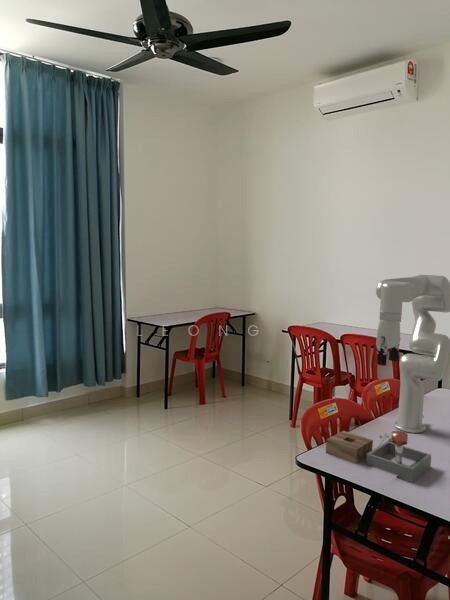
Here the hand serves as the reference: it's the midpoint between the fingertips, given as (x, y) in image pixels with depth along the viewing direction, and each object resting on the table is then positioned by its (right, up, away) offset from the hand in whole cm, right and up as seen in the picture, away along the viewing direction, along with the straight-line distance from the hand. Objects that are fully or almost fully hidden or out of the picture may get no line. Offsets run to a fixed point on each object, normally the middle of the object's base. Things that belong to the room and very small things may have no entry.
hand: (387, 362), depth 177 cm
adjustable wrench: (+1, -33, +9) cm, 34 cm away
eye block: (-15, -33, -2) cm, 37 cm away
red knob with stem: (0, -34, -10) cm, 35 cm away
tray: (0, -35, -10) cm, 36 cm away
